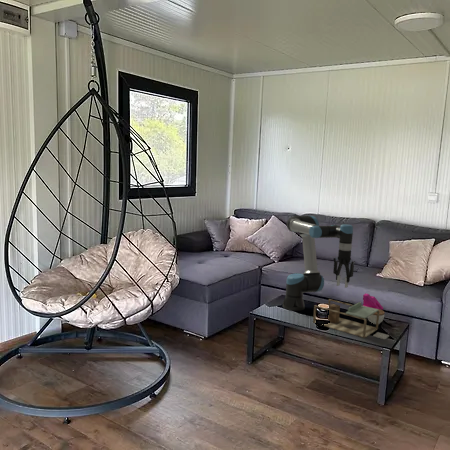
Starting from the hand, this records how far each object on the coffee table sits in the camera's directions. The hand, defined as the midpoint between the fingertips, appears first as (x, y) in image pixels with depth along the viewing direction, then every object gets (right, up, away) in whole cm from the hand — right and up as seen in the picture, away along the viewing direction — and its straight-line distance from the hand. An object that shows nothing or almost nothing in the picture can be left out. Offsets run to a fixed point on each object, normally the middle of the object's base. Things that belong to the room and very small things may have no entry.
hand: (342, 286), depth 280 cm
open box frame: (+2, -25, +1) cm, 25 cm away
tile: (+20, -28, -14) cm, 37 cm away
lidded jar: (+23, -25, +9) cm, 35 cm away
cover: (+10, -15, -7) cm, 19 cm away
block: (-4, -23, +6) cm, 24 cm away
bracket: (+31, -21, +36) cm, 52 cm away
